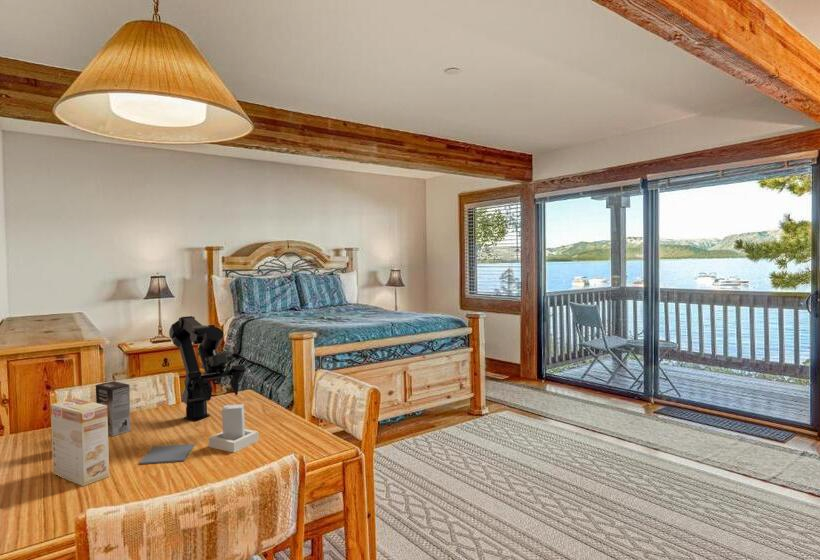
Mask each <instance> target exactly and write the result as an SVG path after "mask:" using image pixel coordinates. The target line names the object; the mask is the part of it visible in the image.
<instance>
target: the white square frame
mask: <svg viewBox="0 0 820 560" xmlns="http://www.w3.org/2000/svg"><path fill="white" fill-rule="evenodd" d="M259 440H260V439H259V431H257V430H251V429H247V428H245V436H243V437H241V438H239V439H236V440H234V441H233V440H229V439H224V438H223V431H221V432H218V433H216V434H213V435H211V436H209V437H208V447H209V448H211V449H215V450H221V451H225V452H229V453H234V454H235V453H237V452H238V451H240V450H243V449H245V448H247V447H248V446H252V445H253V444H255V443H257V442H259Z"/></svg>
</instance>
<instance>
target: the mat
mask: <svg viewBox="0 0 820 560" xmlns="http://www.w3.org/2000/svg"><path fill="white" fill-rule="evenodd" d="M195 445H196V444H195V443H189V444H186V443H185V444H172V445H171V444H170V445H155V446H152V448H151V449H150V450H148V452H147V453H146V455H144V456H143V457H142V459H141V460H139V462H138V465H150V464H165V463H167V464H168V463H181V462H184V461H185V460H186V459H187V458H188V456H189V455H190V453H191V452H192V451H193V449H194V448H195Z"/></svg>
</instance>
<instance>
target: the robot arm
mask: <svg viewBox="0 0 820 560" xmlns="http://www.w3.org/2000/svg"><path fill="white" fill-rule="evenodd" d="M215 325H216V324H208V325H203V324H202V323H200V322H199V321H198V320H197V319H196V318H195V316H192V315H190V316H189V315H188V316H186V315H185V316H180V317H179V318H178V320H177V321H175V322H174V323H172V324H171V325H170V328H169V331H168V332H169V333H168V334H169V335H168V336H169V338H170V339H171V341H172V344H173V345H174V346H175V347H177V348H178V349H179V352H180V355H181V359H182V363H183V367H184V371H185V373H186V374H185V375H186V376H185V378H184V381H183V383H184V391H183V393H182V396H181V397H182V402H183V404H186V407H185V416H184V417H183V419H185V420H189V421H190V420H191V421H194V422H198V421H199V420H200V421H201V420H203V419H206V418H208V417H210V416H211V414H210V413H208V402H210V401H211V400H212V399H211V398H212V392H213V387H212V385H211V383H210V381H209V380H213V379H220V378H224V377H228V378H229V379H230V382H229V383H230V385H231V388H232V390H233V393H234V395H235V396H238V394H239V381H240V380H241V379H242V378H243V376H244V374H245V373H246V370H247V368H246V366H245V365H244V363H243V364H242V363H240V364H232V365H231V367H230V369H228V370H224V369H226V367H227V365H228V364H229V363H230V362H232V361H233V360H234V357H233V354H232V352H231V351H230V350H229V351H225V352H224V353H220V354H219V352H218V348H219V347H220V345H221V342H222V340H223V338H224V334H225V333H224V331H223V330H222V329H221V328H219V327H217V326H215ZM194 345H198V348H197V355H198V356H199V358H200V361H201V364H202V365H201V369H203V371H204V373H202V372H201V369H200V365H199V363H198V360H197V356H196V351H195V350H194V349H195V348H194ZM226 364H227V365H226Z"/></svg>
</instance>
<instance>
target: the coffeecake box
mask: <svg viewBox="0 0 820 560" xmlns="http://www.w3.org/2000/svg"><path fill="white" fill-rule="evenodd" d="M50 420H51V421H50V422H51V423H50V424H51V426H50V427H51V447H52V448H51V450H52V451H51V452H52V454H51V455H52V474H53V473H54V474H56V475H58V476H57V477H59V476H60V477H59V478H61V477H62V478H61V479H64V478H65V479H64V480H66V479H67V481H69V482H71V483H73V484H76V485H79V486H82V487H85V486H88V485H90V484H92V483H95V482H99V481H102V480H104V479H106V478H109V477H110V476H111V475H110V460H109V459H110V458H109V457H110V454H109V453H110V452H109V435H108V416H107V405H103V404H98V403H96V402H93V401H89V400H85V399H81V398H72V399H67V400H63V401H59V402H55V403H51V404H50ZM54 474H53V475H54ZM56 475H55V476H56Z"/></svg>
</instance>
